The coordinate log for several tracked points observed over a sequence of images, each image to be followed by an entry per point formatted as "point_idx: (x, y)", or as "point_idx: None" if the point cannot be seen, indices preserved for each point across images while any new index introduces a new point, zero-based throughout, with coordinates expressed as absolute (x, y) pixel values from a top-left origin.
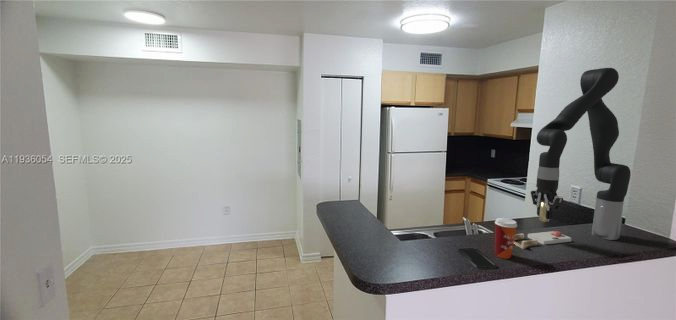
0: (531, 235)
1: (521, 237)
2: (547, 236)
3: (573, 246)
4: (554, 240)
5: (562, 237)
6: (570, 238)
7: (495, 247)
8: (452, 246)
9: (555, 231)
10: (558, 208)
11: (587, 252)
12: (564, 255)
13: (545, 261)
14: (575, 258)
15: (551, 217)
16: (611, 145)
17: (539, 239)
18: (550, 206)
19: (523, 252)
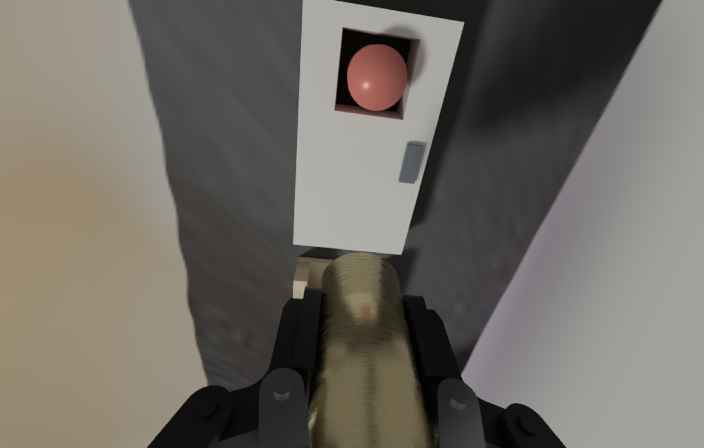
0: (319, 246)
1: (307, 284)
2: (365, 176)
3: (480, 64)
4: (418, 186)
5: (422, 90)
6: (459, 35)
7: None
8: None
9: (360, 81)
10: (556, 439)
11: (568, 80)
12: (498, 234)
13: (476, 332)
14: (541, 220)
15: (436, 322)
16: None
17: (373, 250)
18: (435, 435)
19: None
